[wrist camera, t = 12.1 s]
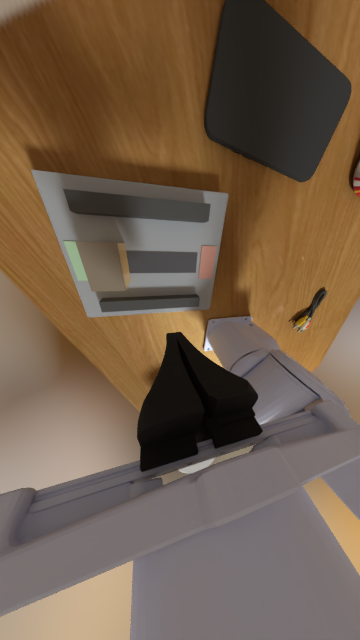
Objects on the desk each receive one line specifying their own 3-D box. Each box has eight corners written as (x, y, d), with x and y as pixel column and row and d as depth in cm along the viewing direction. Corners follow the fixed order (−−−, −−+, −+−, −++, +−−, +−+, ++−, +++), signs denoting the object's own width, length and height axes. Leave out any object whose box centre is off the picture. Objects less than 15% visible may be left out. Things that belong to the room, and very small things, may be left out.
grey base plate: (220, 198, 16) (229, 193, 14) (205, 304, 23) (209, 309, 21) (47, 179, 12) (29, 168, 10) (93, 310, 19) (87, 317, 18)
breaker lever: (124, 243, 14) (116, 243, 11) (130, 280, 16) (125, 290, 13) (94, 242, 14) (75, 241, 10) (105, 280, 16) (91, 291, 12)
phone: (309, 184, 16) (203, 132, 12) (302, 187, 17) (200, 138, 13) (357, 84, 13) (231, -35, 9) (346, 93, 14) (225, -14, 10)
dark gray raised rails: (205, 207, 14) (210, 203, 13) (195, 302, 20) (198, 306, 19) (71, 194, 12) (63, 188, 10) (105, 307, 17) (101, 312, 16)
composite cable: (319, 287, 27) (333, 290, 25) (330, 294, 28) (344, 298, 26) (285, 325, 31) (295, 331, 29) (296, 329, 32) (306, 335, 30)
